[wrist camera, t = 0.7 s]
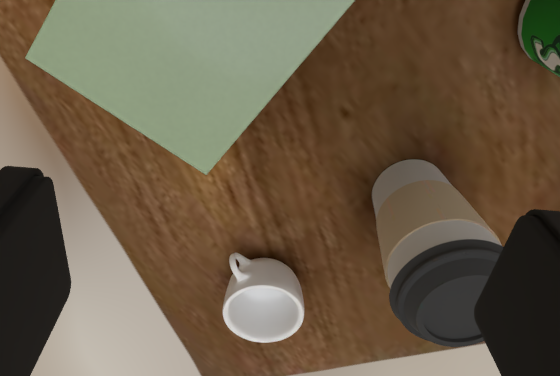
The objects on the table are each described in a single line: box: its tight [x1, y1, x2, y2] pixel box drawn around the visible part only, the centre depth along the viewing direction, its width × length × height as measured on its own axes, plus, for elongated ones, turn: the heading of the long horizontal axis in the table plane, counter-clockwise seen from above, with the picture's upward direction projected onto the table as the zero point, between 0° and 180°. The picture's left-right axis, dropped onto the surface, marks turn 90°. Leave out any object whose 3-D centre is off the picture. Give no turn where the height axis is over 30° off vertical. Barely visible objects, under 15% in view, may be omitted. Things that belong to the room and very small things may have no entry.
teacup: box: [223, 253, 304, 343], centre depth 45 cm, size 10×8×5 cm
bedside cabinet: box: [26, 0, 355, 175], centre depth 29 cm, size 15×13×9 cm
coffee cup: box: [372, 159, 504, 347], centre depth 36 cm, size 9×9×15 cm
